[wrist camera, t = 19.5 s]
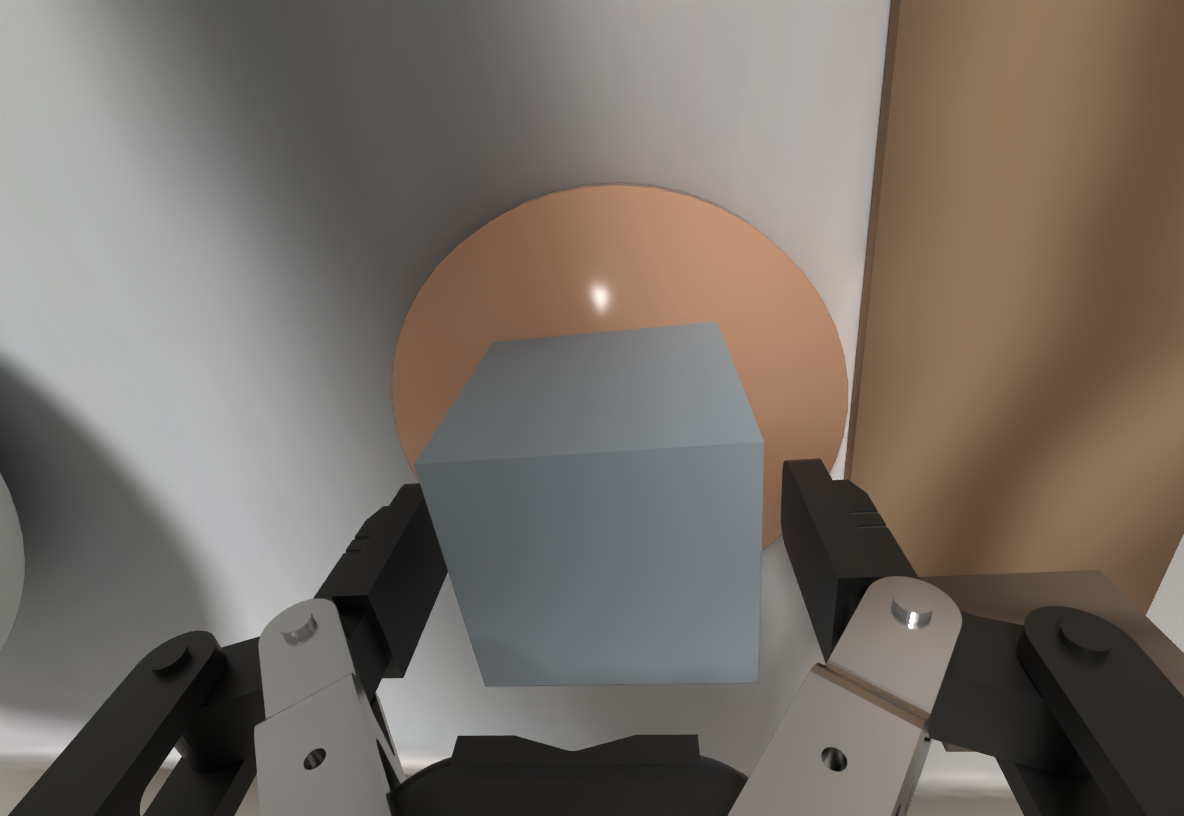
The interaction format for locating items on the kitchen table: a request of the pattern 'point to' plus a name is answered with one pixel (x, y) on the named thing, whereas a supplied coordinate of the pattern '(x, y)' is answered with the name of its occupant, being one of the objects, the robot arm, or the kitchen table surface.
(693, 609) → the slate cube
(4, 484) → the serving bowl
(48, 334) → the kitchen table surface
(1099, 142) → the walnut strip
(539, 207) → the terracotta saucer
